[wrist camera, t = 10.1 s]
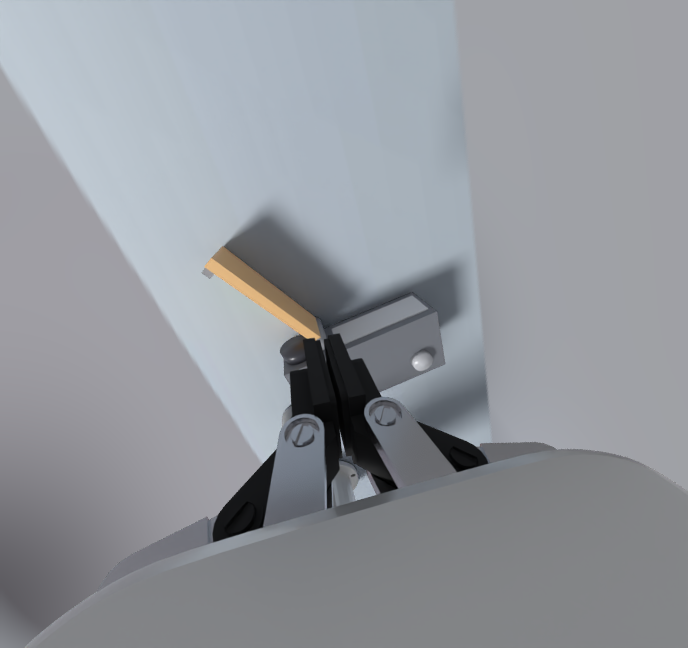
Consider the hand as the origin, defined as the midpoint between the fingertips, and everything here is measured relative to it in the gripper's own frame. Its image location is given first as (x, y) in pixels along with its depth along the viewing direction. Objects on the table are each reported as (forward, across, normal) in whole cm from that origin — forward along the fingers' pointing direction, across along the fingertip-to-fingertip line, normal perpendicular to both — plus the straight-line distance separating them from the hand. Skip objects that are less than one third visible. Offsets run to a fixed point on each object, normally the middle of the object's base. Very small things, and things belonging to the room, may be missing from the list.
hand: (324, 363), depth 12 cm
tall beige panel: (+19, +3, +3) cm, 19 cm away
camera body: (+19, -6, +12) cm, 23 cm away
